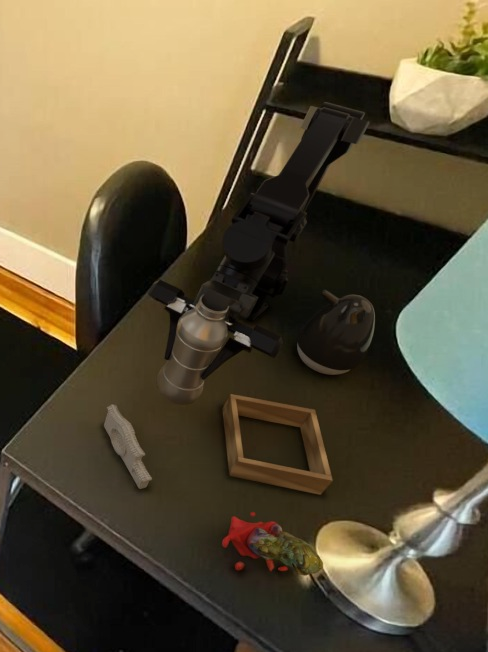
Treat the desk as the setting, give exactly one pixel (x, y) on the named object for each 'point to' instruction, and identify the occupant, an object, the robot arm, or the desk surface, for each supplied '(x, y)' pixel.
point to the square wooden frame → (274, 473)
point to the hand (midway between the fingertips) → (183, 369)
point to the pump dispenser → (337, 334)
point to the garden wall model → (126, 445)
